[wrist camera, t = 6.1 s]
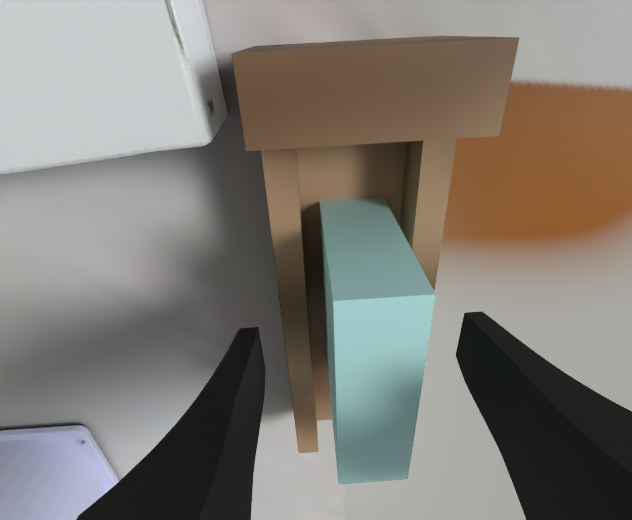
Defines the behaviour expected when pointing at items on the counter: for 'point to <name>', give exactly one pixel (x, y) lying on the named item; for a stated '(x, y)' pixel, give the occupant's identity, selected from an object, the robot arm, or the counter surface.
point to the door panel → (373, 337)
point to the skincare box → (104, 80)
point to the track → (359, 159)
